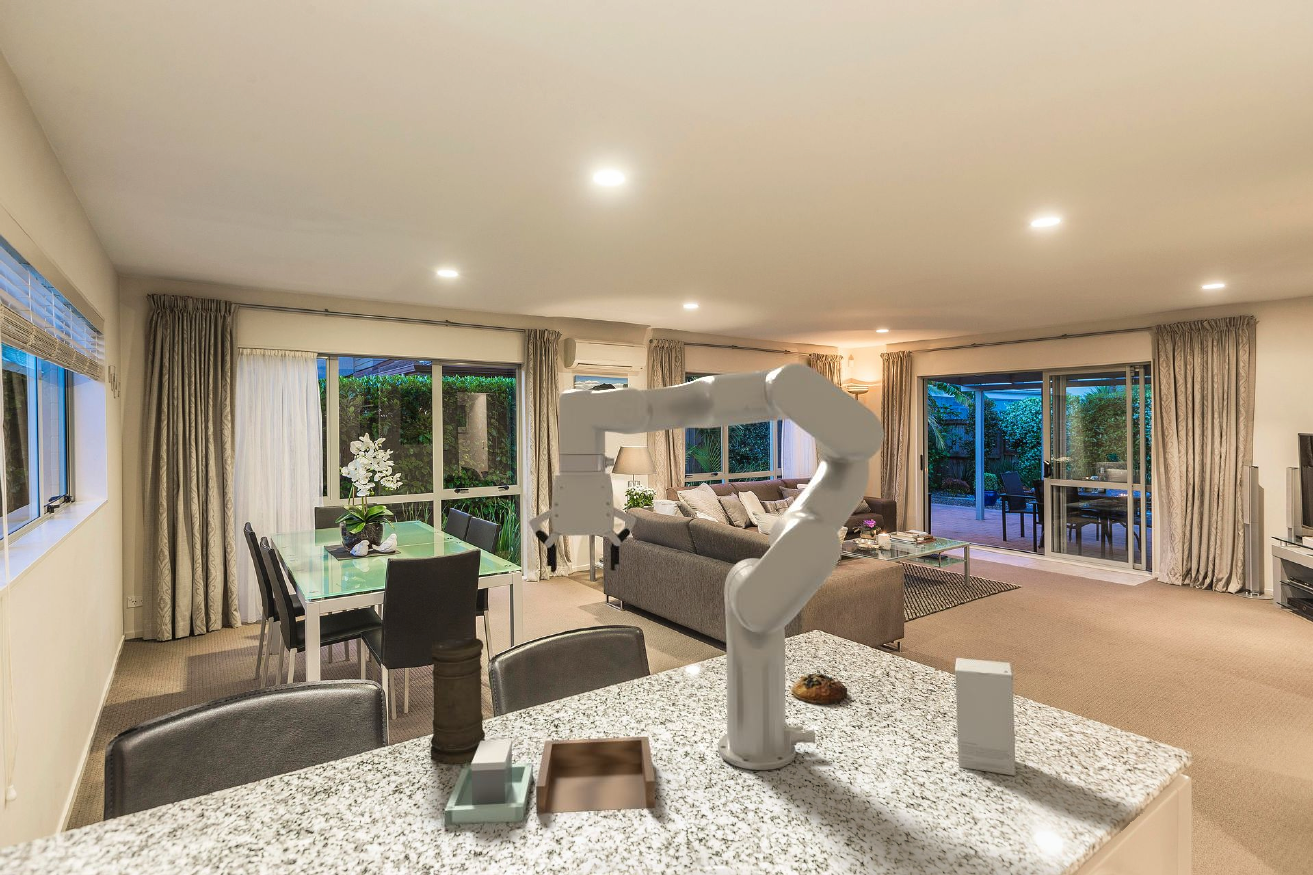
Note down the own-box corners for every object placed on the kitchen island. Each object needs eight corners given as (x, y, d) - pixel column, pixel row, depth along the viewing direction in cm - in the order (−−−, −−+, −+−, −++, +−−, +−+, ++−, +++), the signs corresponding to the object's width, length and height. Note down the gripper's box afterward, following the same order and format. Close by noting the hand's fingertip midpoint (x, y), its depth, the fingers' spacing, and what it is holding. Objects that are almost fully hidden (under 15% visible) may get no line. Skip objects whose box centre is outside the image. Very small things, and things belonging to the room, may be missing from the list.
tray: (532, 777, 105) (532, 762, 105) (523, 822, 93) (522, 806, 93) (463, 780, 104) (463, 765, 104) (444, 826, 92) (444, 810, 92)
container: (471, 767, 109) (470, 653, 109) (419, 762, 111) (418, 650, 110) (495, 742, 118) (494, 636, 117) (447, 737, 119) (446, 634, 119)
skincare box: (1014, 759, 110) (1013, 662, 109) (1016, 778, 104) (1015, 675, 103) (956, 750, 113) (956, 655, 113) (955, 767, 107) (954, 668, 107)
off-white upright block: (512, 782, 102) (512, 739, 102) (505, 808, 95) (505, 761, 95) (481, 784, 102) (480, 740, 102) (471, 810, 95) (471, 763, 95)
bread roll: (854, 705, 132) (850, 679, 132) (797, 713, 132) (793, 686, 133) (840, 686, 143) (837, 662, 143) (788, 693, 143) (784, 669, 144)
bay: (648, 761, 110) (648, 736, 110) (654, 809, 96) (654, 780, 96) (545, 765, 109) (545, 740, 109) (536, 815, 95) (536, 786, 95)
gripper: (634, 463, 117) (635, 564, 117) (531, 465, 116) (532, 566, 116) (636, 465, 109) (637, 573, 109) (526, 467, 108) (527, 575, 108)
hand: (583, 569), depth 113 cm, fingers open, 9 cm apart
